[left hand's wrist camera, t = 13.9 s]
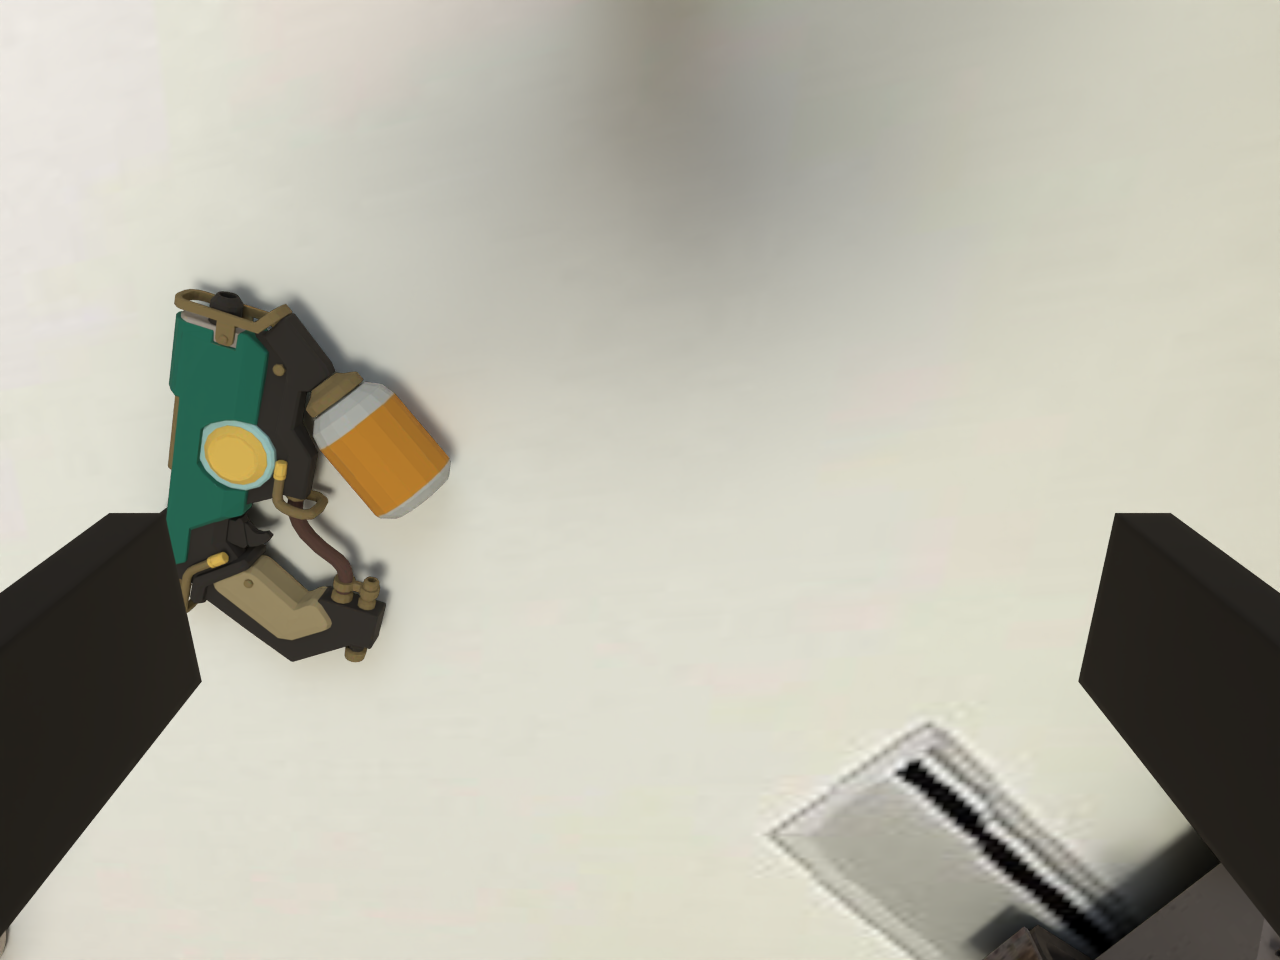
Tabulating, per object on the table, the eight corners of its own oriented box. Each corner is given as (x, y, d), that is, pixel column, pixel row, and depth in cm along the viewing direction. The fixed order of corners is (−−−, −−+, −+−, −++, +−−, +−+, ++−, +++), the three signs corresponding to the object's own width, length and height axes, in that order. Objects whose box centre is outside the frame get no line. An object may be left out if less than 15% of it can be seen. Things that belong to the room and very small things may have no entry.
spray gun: (357, 665, 48) (98, 520, 45) (512, 428, 42) (222, 245, 39) (327, 716, 44) (41, 561, 41) (493, 463, 38) (169, 262, 35)
